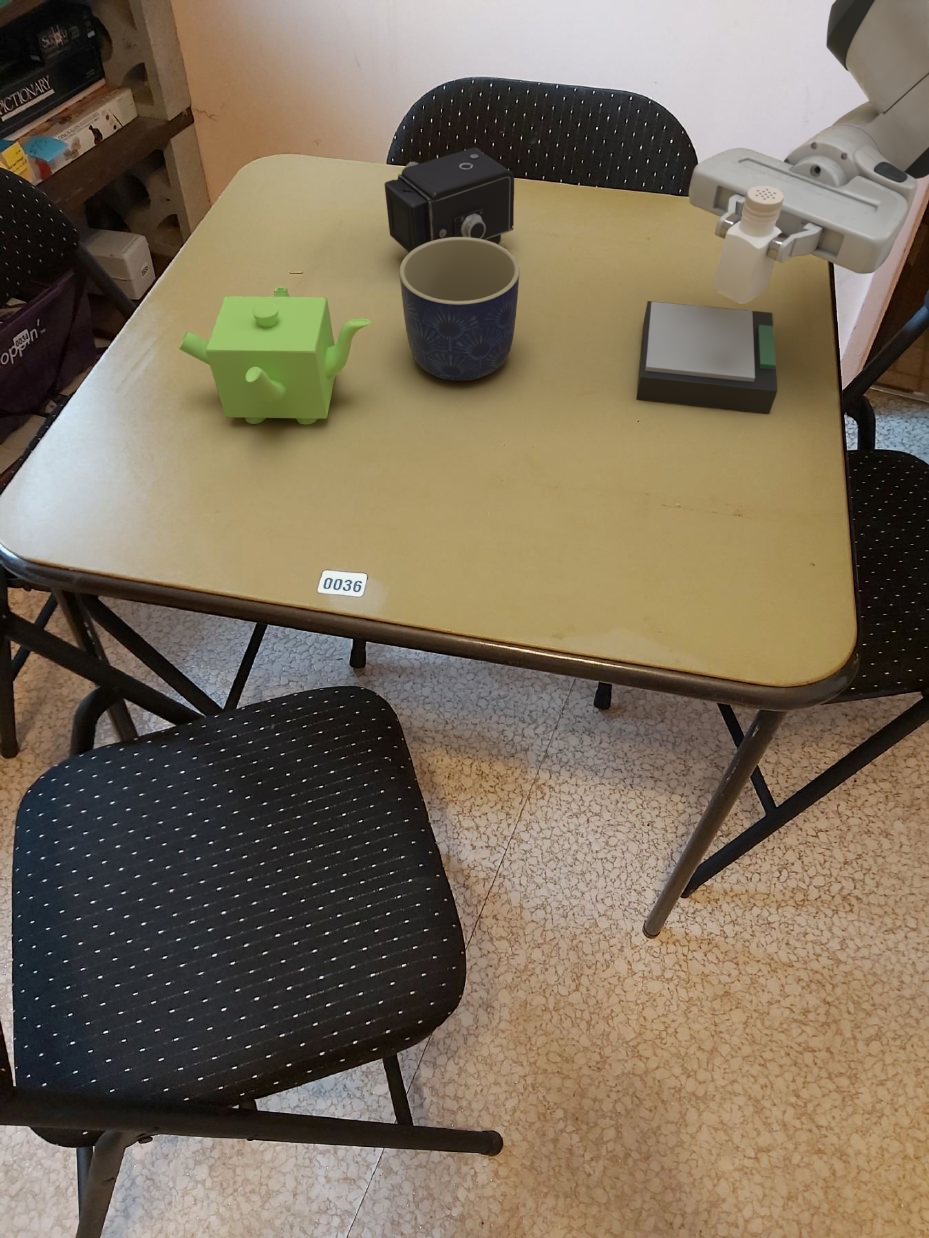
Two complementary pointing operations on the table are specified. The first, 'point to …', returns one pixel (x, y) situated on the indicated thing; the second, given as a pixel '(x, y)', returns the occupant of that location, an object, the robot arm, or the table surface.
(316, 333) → the kettle
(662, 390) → the scale
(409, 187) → the camera
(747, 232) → the pepper shaker
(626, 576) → the table surface
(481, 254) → the planter
